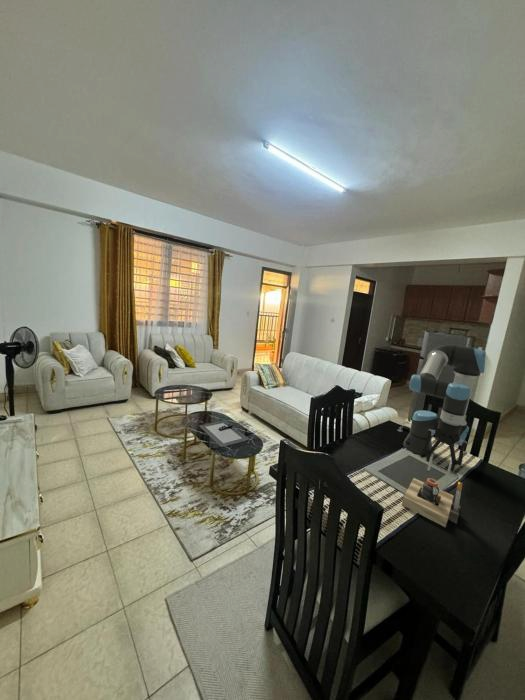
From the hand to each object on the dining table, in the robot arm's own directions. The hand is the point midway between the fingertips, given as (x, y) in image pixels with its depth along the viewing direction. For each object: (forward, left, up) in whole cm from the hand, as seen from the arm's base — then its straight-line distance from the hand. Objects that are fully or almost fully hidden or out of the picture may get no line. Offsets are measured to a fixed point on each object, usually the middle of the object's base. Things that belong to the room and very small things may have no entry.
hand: (437, 472), depth 116 cm
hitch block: (0, +1, -16) cm, 16 cm away
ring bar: (0, +9, -13) cm, 16 cm away
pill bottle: (0, -1, -16) cm, 16 cm away
